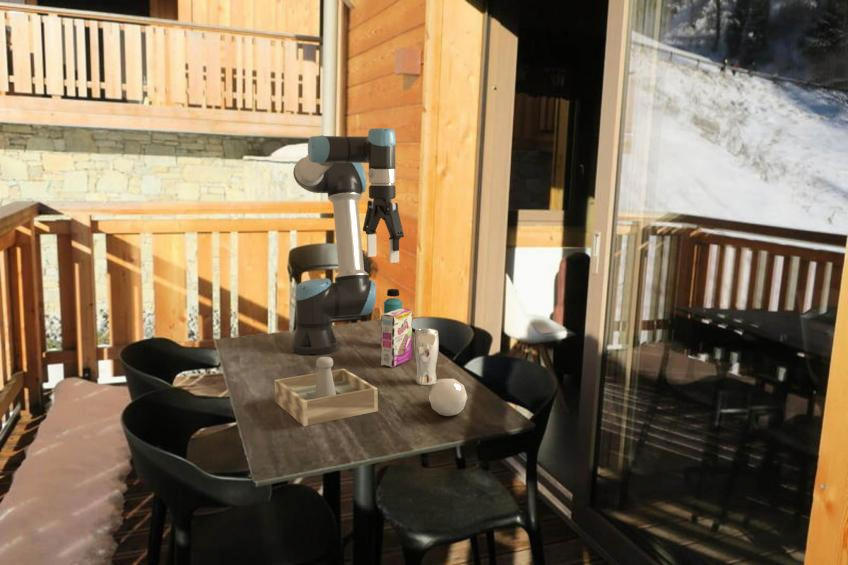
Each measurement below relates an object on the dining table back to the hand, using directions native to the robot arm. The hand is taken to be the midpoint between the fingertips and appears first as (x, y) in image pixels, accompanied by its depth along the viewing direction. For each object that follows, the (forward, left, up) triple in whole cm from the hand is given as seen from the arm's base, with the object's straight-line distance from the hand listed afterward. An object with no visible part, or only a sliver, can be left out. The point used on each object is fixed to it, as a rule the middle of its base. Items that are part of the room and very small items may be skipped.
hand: (382, 259), depth 203 cm
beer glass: (+11, +8, -35) cm, 37 cm away
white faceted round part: (+34, 0, -35) cm, 48 cm away
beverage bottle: (-27, +18, -35) cm, 48 cm away
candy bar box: (-10, +10, -35) cm, 38 cm away
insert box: (+15, -25, -35) cm, 45 cm away
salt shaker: (+15, -25, -35) cm, 45 cm away
